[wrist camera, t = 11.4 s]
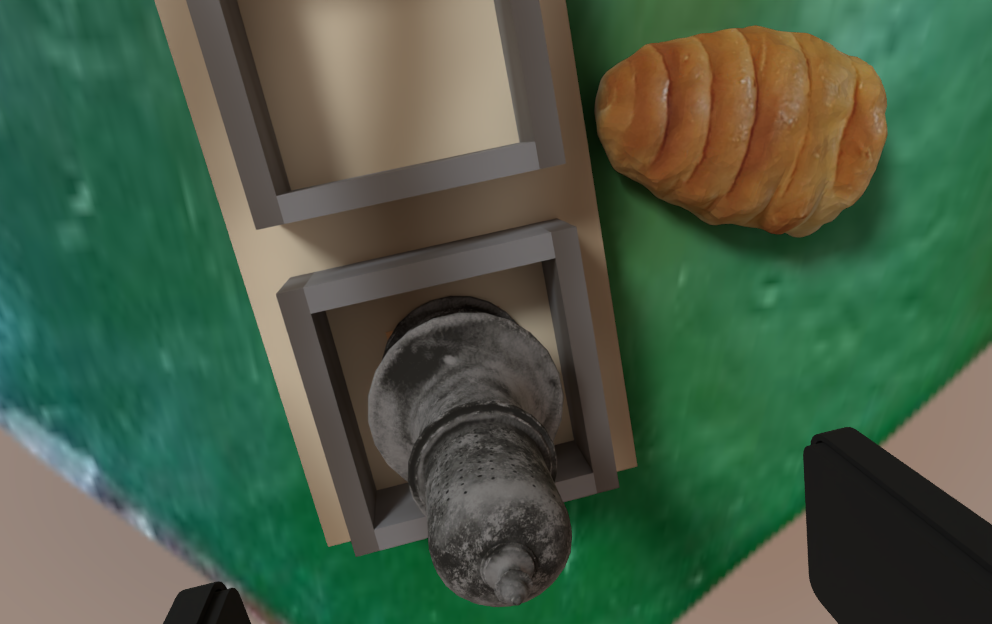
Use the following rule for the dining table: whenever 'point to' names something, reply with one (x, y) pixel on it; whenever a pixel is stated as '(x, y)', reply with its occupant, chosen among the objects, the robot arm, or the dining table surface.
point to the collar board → (403, 213)
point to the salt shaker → (476, 446)
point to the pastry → (746, 126)
